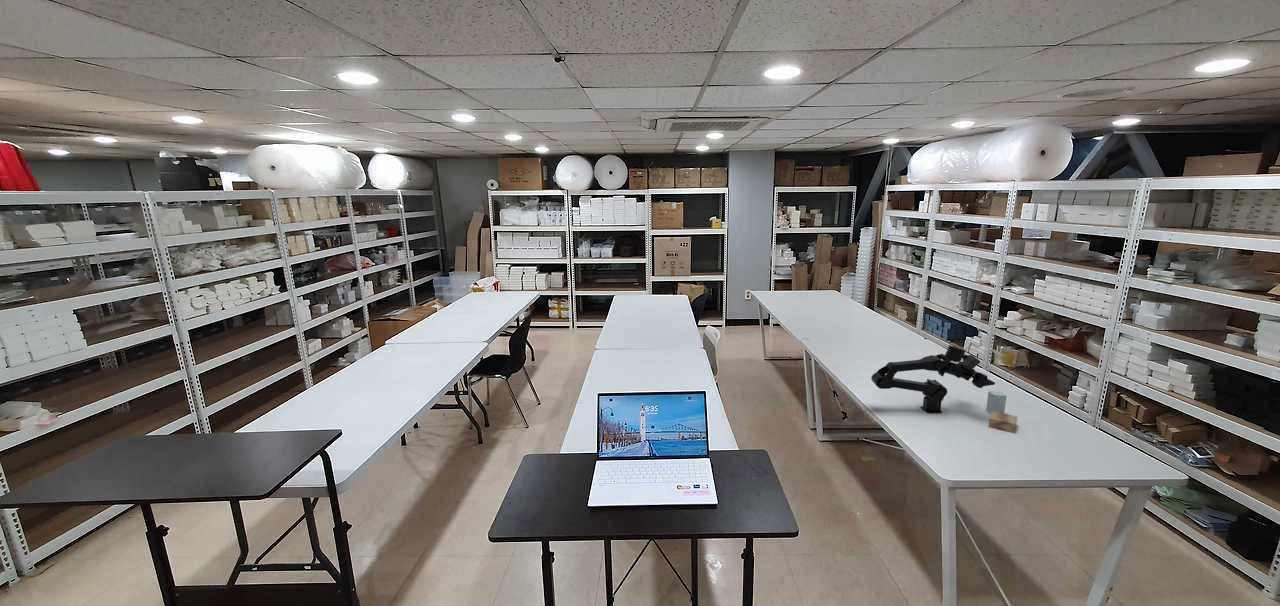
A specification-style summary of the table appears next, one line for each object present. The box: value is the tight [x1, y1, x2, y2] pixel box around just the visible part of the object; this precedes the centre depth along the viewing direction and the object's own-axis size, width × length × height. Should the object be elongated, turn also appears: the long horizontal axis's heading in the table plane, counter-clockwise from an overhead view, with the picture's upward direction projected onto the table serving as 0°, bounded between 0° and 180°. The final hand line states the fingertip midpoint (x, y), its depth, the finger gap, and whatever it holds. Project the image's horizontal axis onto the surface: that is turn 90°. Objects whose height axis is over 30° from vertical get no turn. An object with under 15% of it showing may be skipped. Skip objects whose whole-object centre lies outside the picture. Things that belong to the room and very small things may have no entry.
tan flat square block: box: [988, 411, 1018, 433], centre depth 204 cm, size 9×9×4 cm
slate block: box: [985, 390, 1007, 416], centre depth 215 cm, size 5×5×10 cm
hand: (988, 379), depth 216 cm, fingers open, 9 cm apart
